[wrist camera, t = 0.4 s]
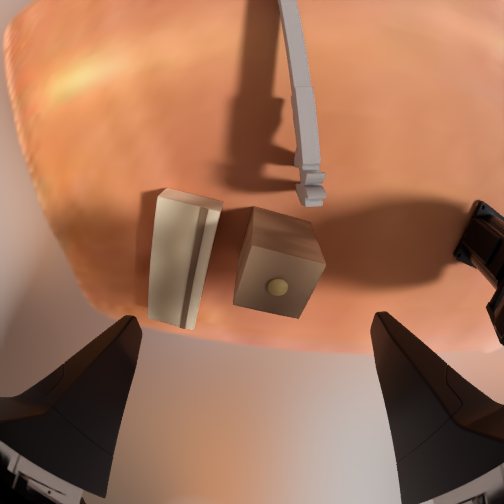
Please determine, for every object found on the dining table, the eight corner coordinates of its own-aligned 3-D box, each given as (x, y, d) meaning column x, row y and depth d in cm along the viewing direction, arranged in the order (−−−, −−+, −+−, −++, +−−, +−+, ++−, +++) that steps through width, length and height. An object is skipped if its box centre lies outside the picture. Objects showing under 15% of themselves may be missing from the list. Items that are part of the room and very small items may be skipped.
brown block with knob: (310, 222, 21) (327, 266, 15) (290, 268, 23) (298, 320, 18) (253, 206, 20) (252, 246, 15) (238, 255, 22) (232, 306, 17)
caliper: (309, 188, 20) (328, 222, 14) (294, 189, 20) (308, 224, 14) (280, -52, 9) (286, -94, 4) (265, -52, 10) (266, -95, 4)
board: (223, 201, 20) (220, 212, 18) (197, 315, 26) (193, 331, 24) (166, 187, 20) (157, 196, 18) (153, 303, 25) (147, 318, 24)
